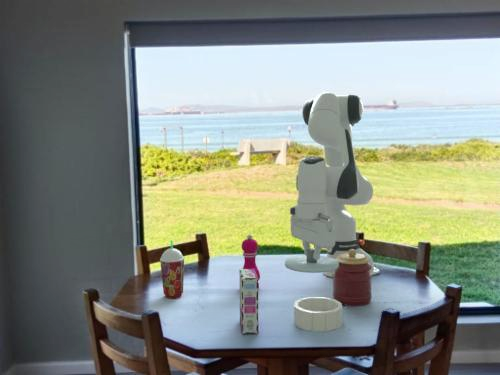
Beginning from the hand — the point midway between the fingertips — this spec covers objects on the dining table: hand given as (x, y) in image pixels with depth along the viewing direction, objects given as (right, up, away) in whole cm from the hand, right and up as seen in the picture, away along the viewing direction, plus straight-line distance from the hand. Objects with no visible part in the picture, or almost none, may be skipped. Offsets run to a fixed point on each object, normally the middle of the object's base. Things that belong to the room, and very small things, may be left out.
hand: (312, 257), depth 156 cm
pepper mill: (-18, -16, +35) cm, 43 cm away
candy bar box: (-19, -21, -2) cm, 28 cm away
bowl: (+2, -20, +1) cm, 20 cm away
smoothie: (-46, -18, +28) cm, 56 cm away
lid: (0, -3, 0) cm, 3 cm away
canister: (+16, -17, +20) cm, 31 cm away
